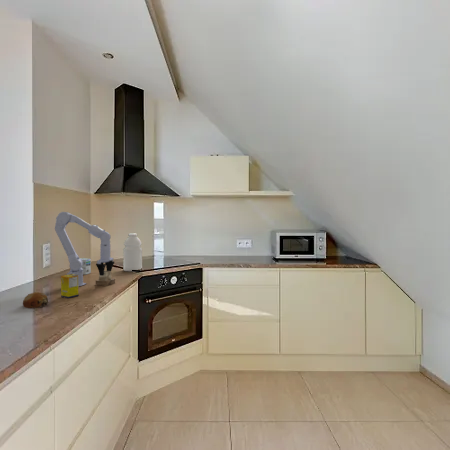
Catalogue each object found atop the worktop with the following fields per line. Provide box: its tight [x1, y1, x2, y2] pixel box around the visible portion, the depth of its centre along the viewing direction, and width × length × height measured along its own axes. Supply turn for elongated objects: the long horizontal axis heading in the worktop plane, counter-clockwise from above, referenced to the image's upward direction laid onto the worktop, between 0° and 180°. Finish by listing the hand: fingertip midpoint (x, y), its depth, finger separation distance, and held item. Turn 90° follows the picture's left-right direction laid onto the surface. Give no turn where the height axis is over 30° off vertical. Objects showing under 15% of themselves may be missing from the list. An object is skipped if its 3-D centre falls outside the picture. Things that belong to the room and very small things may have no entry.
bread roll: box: [22, 291, 49, 309], centre depth 149 cm, size 10×10×8 cm
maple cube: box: [98, 270, 112, 281], centre depth 197 cm, size 5×5×5 cm
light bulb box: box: [79, 257, 92, 275], centre depth 231 cm, size 11×7×11 cm, turn 84°
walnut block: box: [95, 278, 116, 287], centre depth 197 cm, size 8×8×3 cm
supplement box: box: [60, 274, 79, 299], centre depth 166 cm, size 6×6×11 cm
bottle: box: [122, 232, 143, 272], centre depth 249 cm, size 14×14×28 cm
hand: (105, 274), depth 197 cm, fingers open, 7 cm apart
